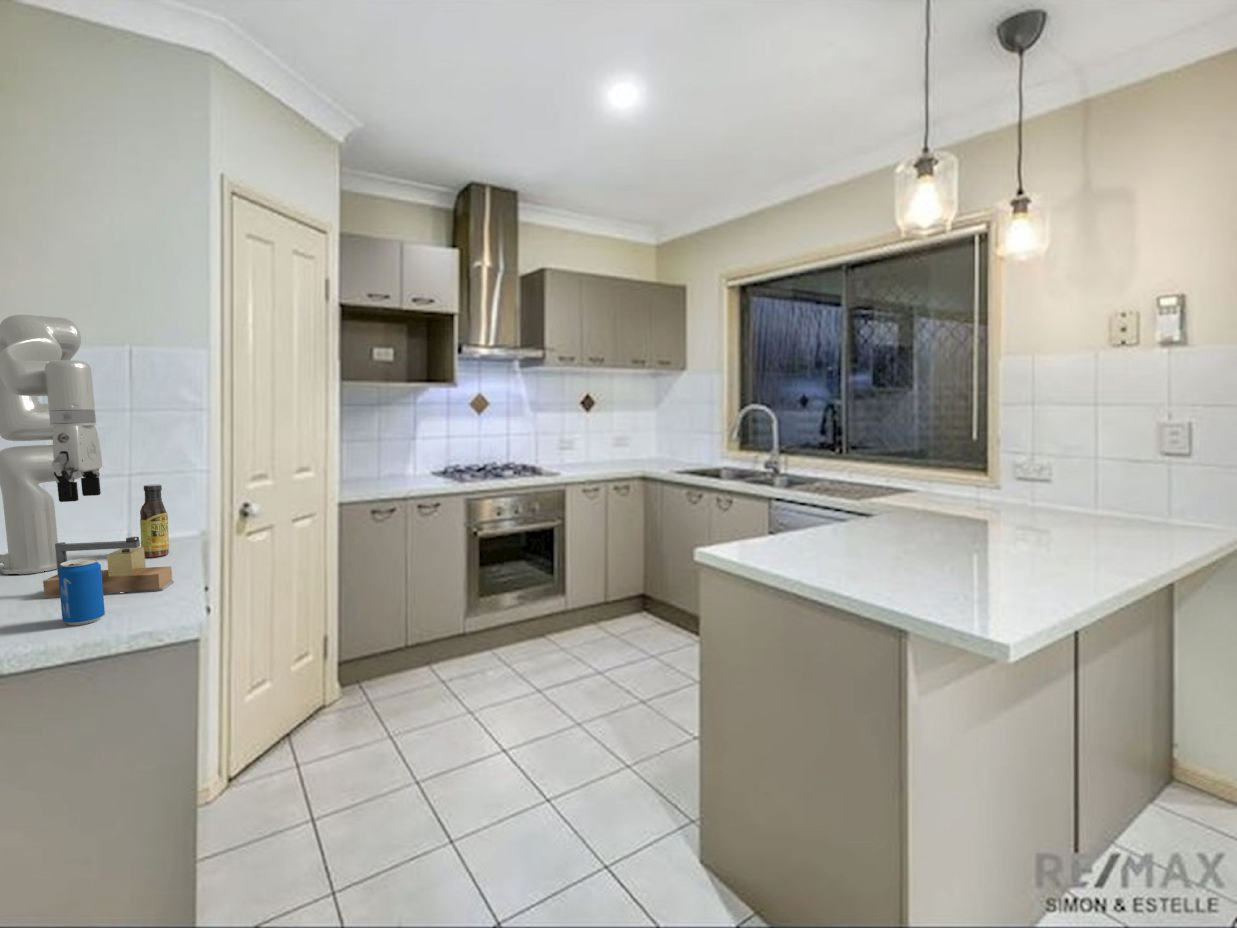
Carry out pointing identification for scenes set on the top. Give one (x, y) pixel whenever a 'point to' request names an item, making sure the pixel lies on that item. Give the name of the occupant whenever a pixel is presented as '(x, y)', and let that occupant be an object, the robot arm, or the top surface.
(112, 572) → the tan knob block
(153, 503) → the sauce bottle
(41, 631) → the top surface
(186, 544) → the top surface
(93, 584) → the beverage can
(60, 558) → the lever
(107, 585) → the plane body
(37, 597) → the top surface
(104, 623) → the top surface
